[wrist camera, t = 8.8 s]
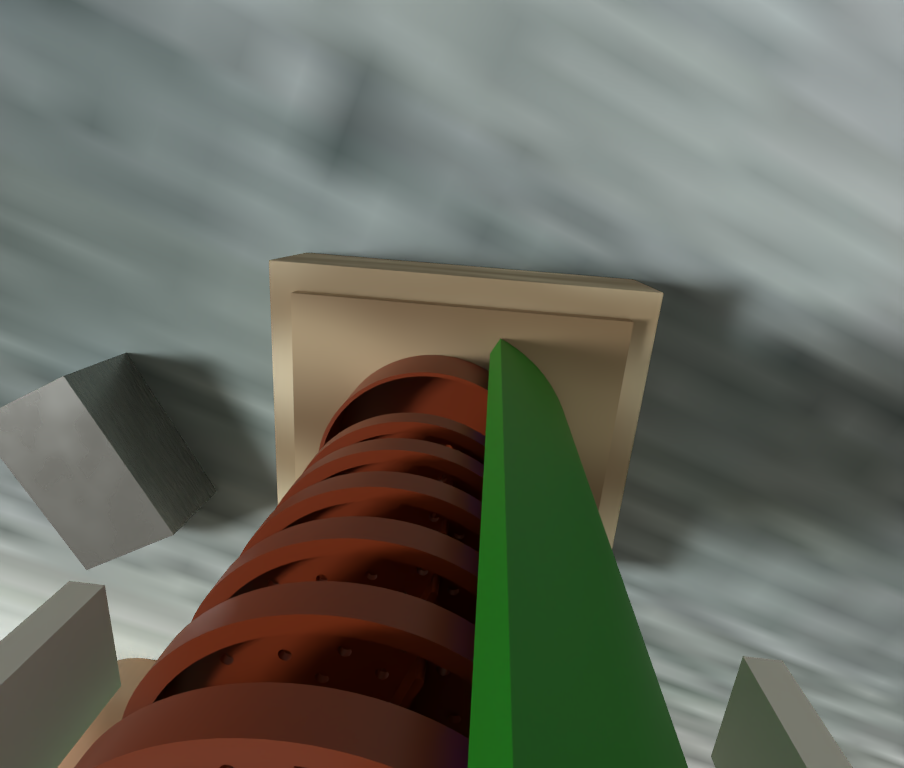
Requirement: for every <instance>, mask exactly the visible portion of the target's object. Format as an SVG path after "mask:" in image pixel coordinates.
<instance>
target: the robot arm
mask: <svg viewBox="0 0 904 768" xmlns="http://www.w3.org/2000/svg"><path fill="white" fill-rule="evenodd" d="M120 687H121V681H120V675H119V669H118V663H117V657H116V651H115V645H114V639H113V632H112V626H111V620H110V614H109V608H108V602H107V596H106V590H105V585H99V584H90V583H81V582H72V581H69V582H68V583H67V584H66V585H64V586H63V587H62V588H61V589H60V590H59V591H58V592H56V593H55V594H54V595H53V596H52V597H51V598H50V599H48V600H47V601H46V602H45V603H44V604H43V605H41V606H40V607H39V608H38V609H37V610H36V611H35V612H33V613H32V614H31V615H30V616H29V617H28V618H27V619H25V620H24V621H23V622H22V623H21V624H20V625H19V626H17V627H16V628H15V629H14V630H13V631H12V632H10V633H9V634H8V635H7V636H6V637H5V638H4V639H2V640H1V641H0V768H57V767H58V766H59V765H60V763H61V762H62V761H63V760H64V758H65V757H66V756H67V754H68V753H69V752H70V751H71V749H72V748H73V747H74V745H75V744H76V743H77V742H78V740H79V739H80V738H81V737H82V735H83V734H84V733H85V731H86V730H87V729H88V728H89V726H90V725H91V724H92V722H93V721H94V720H95V719H96V717H97V716H98V715H99V714H100V712H101V711H102V710H103V708H104V707H105V706H106V705H107V703H108V702H109V701H110V700H111V698H112V697H113V696H114V694H115V693H116V692H117V691H118V689H119V688H120ZM711 757H712V760H713V762H714V765H715V767H716V768H853V767H852V766H851V764H850V763H849V761H848V760H847V758H846V757H845V755H844V754H843V752H842V751H841V749H840V747H839V746H838V744H837V743H836V741H835V740H834V738H833V737H832V735H831V734H830V732H829V731H828V729H827V728H826V726H825V725H824V723H823V722H822V720H821V719H820V717H819V716H818V714H817V713H816V711H815V709H814V708H813V706H812V705H811V703H810V702H809V700H808V699H807V697H806V696H805V694H804V693H803V691H802V690H801V688H800V687H799V685H798V684H797V682H796V681H795V679H794V678H793V676H792V674H791V673H790V671H789V670H788V668H787V667H786V665H785V664H784V662H783V661H781V660H772V659H763V658H754V657H745V656H743V658H742V661H741V664H740V667H739V671H738V674H737V677H736V680H735V683H734V686H733V689H732V692H731V696H730V699H729V702H728V705H727V708H726V711H725V714H724V718H723V721H722V724H721V727H720V730H719V733H718V736H717V739H716V743H715V746H714V749H713V752H712V755H711Z"/></svg>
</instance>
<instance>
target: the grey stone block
mask: <svg viewBox="0 0 904 768" xmlns="http://www.w3.org/2000/svg"><path fill="white" fill-rule="evenodd" d="M0 457H1V459H2V460H3V461H4V463H5V464H6V465H7V467H8V468H9V469H10V471H11V472H12V473H13V474H14V476H15V477H16V478H17V480H18V481H19V482H20V484H21V485H22V486H23V488H24V489H25V490H26V491H27V493H28V494H29V495H30V497H31V498H32V499H33V501H34V502H35V503H36V505H37V506H38V507H39V508H40V510H41V511H42V512H43V514H44V515H45V516H46V518H47V519H48V520H49V522H50V523H51V524H52V525H53V527H54V528H55V529H56V531H57V532H58V533H59V535H60V536H61V537H62V539H63V540H64V541H65V542H66V544H67V545H68V546H69V548H70V549H71V550H72V552H73V553H74V554H75V556H76V557H77V558H78V559H79V561H80V562H81V563H82V565H83V566H84V567H85V569H86V570H88V569H90V568H93V567H95V566H97V565H100V564H102V563H105V562H107V561H110V560H112V559H115V558H117V557H120V556H122V555H125V554H127V553H130V552H132V551H135V550H137V549H139V548H142V547H144V546H147V545H149V544H152V543H154V542H157V541H159V540H162V539H164V538H167V537H169V536H172V535H174V534H175V533H176V532H177V531H178V530H179V529H180V528H181V527H182V526H183V525H184V524H185V523H186V522H187V521H188V520H189V519H190V518H191V517H192V516H193V515H194V514H195V513H196V512H197V511H198V510H199V509H200V508H201V507H202V506H203V505H204V504H205V503H206V502H207V501H208V500H209V499H210V498H211V497H212V496H213V495H214V494H215V493H216V490H215V488H214V486H213V485H212V483H211V482H210V480H209V479H208V477H207V476H206V474H205V473H204V471H203V470H202V468H201V467H200V465H199V463H198V462H197V460H196V459H195V457H194V456H193V454H192V453H191V451H190V450H189V448H188V447H187V445H186V444H185V442H184V440H183V439H182V437H181V436H180V434H179V433H178V431H177V430H176V428H175V427H174V425H173V424H172V422H171V421H170V419H169V417H168V416H167V414H166V413H165V411H164V410H163V408H162V407H161V405H160V404H159V402H158V401H157V399H156V398H155V396H154V394H153V393H152V391H151V390H150V388H149V387H148V385H147V384H146V382H145V381H144V379H143V378H142V376H141V375H140V373H139V372H138V370H137V368H136V367H135V365H134V364H133V362H132V361H131V359H130V358H129V356H128V355H127V353H124V354H121V355H119V356H116V357H113V358H111V359H108V360H105V361H103V362H100V363H97V364H95V365H92V366H89V367H87V368H84V369H81V370H79V371H76V372H73V373H71V374H68V375H65V376H63V377H61V378H59V379H57V380H55V381H53V382H51V383H49V384H47V385H45V386H43V387H41V388H39V389H37V390H35V391H33V392H31V393H29V394H27V395H25V396H23V397H21V398H19V399H17V400H15V401H13V402H11V403H9V404H7V405H5V406H3V407H1V408H0Z"/></svg>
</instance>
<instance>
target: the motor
mask: <svg viewBox="0 0 904 768" xmlns="http://www.w3.org/2000/svg"><path fill="white" fill-rule="evenodd" d="M74 768H688V766H687V763H686V760H685V757H684V755H683V752H682V749H681V746H680V743H679V740H678V737H677V735H676V732H675V729H674V726H673V723H672V720H671V717H670V715H669V712H668V709H667V706H666V703H665V700H664V697H663V694H662V692H661V689H660V686H659V683H658V680H657V677H656V674H655V672H654V669H653V666H652V663H651V660H650V657H649V654H648V652H647V649H646V646H645V643H644V640H643V637H642V634H641V632H640V629H639V626H638V623H637V620H636V617H635V614H634V611H633V609H632V606H631V603H630V600H629V597H628V594H627V591H626V589H625V586H624V583H623V580H622V577H621V574H620V571H619V569H618V566H617V563H616V560H615V557H614V554H613V551H612V548H611V546H610V543H609V540H608V537H607V534H606V531H605V528H604V526H603V523H602V520H601V517H600V514H599V511H598V508H597V506H596V503H595V500H594V497H593V494H592V491H591V488H590V486H589V483H588V480H587V477H586V474H585V471H584V468H583V465H582V463H581V460H580V457H579V454H578V451H577V448H576V445H575V443H574V440H573V437H572V434H571V431H570V428H569V425H568V423H567V420H566V417H565V414H564V411H563V408H562V406H561V403H560V401H559V399H558V397H557V395H556V393H555V391H554V389H553V388H552V386H551V384H550V383H549V381H548V380H547V379H546V377H545V376H544V375H543V373H542V372H541V371H540V370H539V368H538V367H537V366H536V365H535V364H534V363H533V362H532V361H531V360H530V359H529V358H528V357H526V356H525V355H524V354H523V353H522V352H520V351H519V350H518V349H517V348H515V347H514V346H512V345H511V344H509V343H508V342H506V341H504V340H503V339H501V338H500V340H499V341H498V343H497V344H496V345H495V347H494V348H493V350H492V351H491V353H490V362H489V371H488V370H486V369H484V368H482V367H480V366H478V365H476V364H474V363H471V362H469V361H466V360H463V359H459V358H455V357H450V356H442V355H421V356H413V357H408V358H404V359H401V360H398V361H395V362H392V363H390V364H388V365H386V366H384V367H382V368H380V369H378V370H377V371H375V372H374V373H372V374H371V375H370V376H368V377H367V378H366V379H365V380H364V381H363V382H362V383H361V384H360V385H359V386H358V387H357V388H356V389H355V390H354V392H353V393H352V394H351V395H350V396H349V398H348V399H347V400H346V401H345V402H344V403H343V405H342V406H341V407H340V408H339V409H338V411H337V412H336V413H335V415H334V416H333V417H332V419H331V420H330V422H329V424H328V426H327V428H326V430H325V432H324V434H323V437H322V440H321V443H320V447H319V452H318V453H317V454H316V456H315V457H314V458H313V459H312V461H311V462H310V463H309V465H308V466H307V467H306V469H305V470H304V472H303V473H302V475H301V476H300V477H299V478H298V479H297V480H296V482H295V483H294V484H293V485H292V487H291V488H290V489H289V490H288V492H287V493H286V494H285V496H284V497H283V498H282V500H281V501H280V503H279V504H278V505H277V507H276V509H275V510H274V511H273V512H272V513H271V514H270V516H269V517H268V518H267V519H266V520H265V522H264V523H263V524H262V525H261V527H260V528H259V529H258V530H257V532H256V533H255V534H254V536H253V537H252V538H251V540H250V541H249V542H248V544H247V545H246V547H245V548H244V550H243V552H242V553H241V555H240V557H239V558H238V559H237V560H236V561H235V562H234V563H233V564H232V565H231V566H230V567H229V568H228V570H227V571H226V572H225V573H224V574H223V576H222V577H221V578H220V580H219V581H218V582H217V583H216V585H215V586H214V587H213V589H212V590H211V591H210V593H209V594H208V595H207V596H206V598H205V599H204V601H203V602H202V603H201V605H200V606H199V608H198V610H197V612H196V613H195V615H194V617H193V619H192V622H191V623H190V624H189V625H187V626H186V627H185V628H184V629H183V630H182V631H181V632H180V633H179V634H178V635H177V636H176V637H175V638H174V639H173V641H172V642H171V643H170V644H169V646H168V647H167V648H166V649H165V651H164V652H163V653H162V655H161V656H160V657H159V658H158V660H157V661H156V662H155V664H154V665H153V666H152V667H151V669H150V670H149V671H148V673H147V674H146V675H145V677H144V678H143V679H142V680H141V682H140V683H139V685H138V686H137V688H136V689H135V691H134V692H133V694H132V696H131V698H130V700H129V701H128V704H127V706H126V709H125V711H124V714H123V717H122V720H121V721H119V722H118V723H116V724H115V725H113V726H112V727H111V728H110V729H108V730H107V731H106V732H105V733H103V734H102V735H101V736H100V737H99V738H98V739H97V740H96V741H95V742H94V743H93V744H92V746H91V747H90V748H89V749H88V750H87V752H86V753H85V754H84V755H83V757H82V758H81V759H80V761H79V762H78V763H77V764H76V766H75V767H74Z"/></svg>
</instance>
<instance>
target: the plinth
mask: <svg viewBox="0 0 904 768" xmlns="http://www.w3.org/2000/svg"><path fill="white" fill-rule="evenodd" d="M269 275H270V302H271V329H272V357H273V384H274V411H275V439H276V466H277V493H278V504H279V503H280V501H281V500H282V498H283V497H284V496H285V494H286V493H287V492H288V490H289V489H290V488H291V487H292V485H293V484H294V483H295V482H296V480H297V479H298V478H299V477H300V476H301V475H302V473H303V472H304V470H305V469H306V467H307V466H308V465H309V463H310V462H311V461H312V459H313V458H314V457H315V456H316V454H317V453H318V452H319V447H320V443H321V440H322V437H323V434H324V432H325V430H326V428H327V426H328V424H329V422H330V420H331V419H332V417H333V416H334V415H335V413H336V412H337V411H338V409H339V408H340V407H341V406H342V405H343V403H344V402H345V401H346V400H347V399H348V398H349V396H350V395H351V394H352V393H353V392H354V390H355V389H356V388H357V387H358V386H359V385H360V384H361V383H362V382H363V381H364V380H365V379H366V378H367V377H368V376H370V375H371V374H372V373H374V372H375V371H377V370H378V369H380V368H382V367H384V366H386V365H388V364H390V363H392V362H395V361H398V360H401V359H404V358H408V357H413V356H421V355H442V356H450V357H455V358H459V359H463V360H466V361H469V362H471V363H474V364H476V365H478V366H480V367H482V368H484V369H486V370H488V371H489V362H490V353H491V351H492V350H493V348H494V347H495V345H496V344H497V343H498V341H499V340H500V338H501V339H503V340H504V341H506V342H508V343H509V344H511V345H512V346H514V347H515V348H517V349H518V350H519V351H520V352H522V353H523V354H524V355H525V356H526V357H528V358H529V359H530V360H531V361H532V362H533V363H534V364H535V365H536V366H537V367H538V368H539V370H540V371H541V372H542V373H543V375H544V376H545V377H546V379H547V380H548V381H549V383H550V384H551V386H552V388H553V389H554V391H555V393H556V395H557V397H558V399H559V401H560V403H561V406H562V408H563V411H564V414H565V417H566V420H567V423H568V425H569V428H570V431H571V434H572V437H573V440H574V443H575V445H576V448H577V451H578V454H579V457H580V460H581V463H582V465H583V468H584V471H585V474H586V477H587V480H588V483H589V486H590V488H591V491H592V494H593V497H594V500H595V503H596V506H597V508H598V511H599V514H600V517H601V520H602V523H603V526H604V528H605V531H606V534H607V537H608V540H609V543H610V546H611V548H612V547H613V542H614V537H615V532H616V527H617V522H618V517H619V512H620V507H621V502H622V497H623V492H624V487H625V482H626V477H627V472H628V467H629V462H630V457H631V452H632V447H633V442H634V437H635V432H636V427H637V423H638V418H639V413H640V408H641V403H642V398H643V393H644V388H645V383H646V378H647V373H648V368H649V363H650V358H651V353H652V348H653V343H654V338H655V333H656V328H657V323H658V318H659V313H660V308H661V303H662V298H663V293H662V292H660V291H658V290H656V289H654V288H651V287H649V286H647V285H645V284H642V283H640V282H638V281H636V280H633V279H621V278H609V277H597V276H585V275H572V274H560V273H548V272H536V271H524V270H511V269H499V268H487V267H475V266H462V265H450V264H438V263H426V262H414V261H401V260H389V259H377V258H365V257H352V256H340V255H328V254H316V253H303V254H298V255H293V256H288V257H283V258H278V259H273V260H269Z"/></svg>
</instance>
